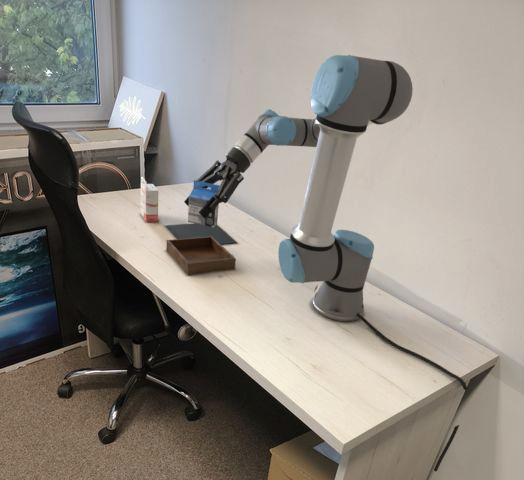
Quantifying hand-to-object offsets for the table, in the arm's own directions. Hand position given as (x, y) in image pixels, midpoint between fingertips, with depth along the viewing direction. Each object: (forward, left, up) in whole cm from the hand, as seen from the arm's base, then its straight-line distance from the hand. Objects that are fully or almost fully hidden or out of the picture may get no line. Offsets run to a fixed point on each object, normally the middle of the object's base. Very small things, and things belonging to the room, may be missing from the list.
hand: (194, 210), depth 148 cm
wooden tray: (0, -3, -17) cm, 17 cm away
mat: (+20, -12, -17) cm, 29 cm away
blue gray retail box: (0, -3, -5) cm, 6 cm away
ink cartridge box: (+39, +1, -17) cm, 43 cm away
